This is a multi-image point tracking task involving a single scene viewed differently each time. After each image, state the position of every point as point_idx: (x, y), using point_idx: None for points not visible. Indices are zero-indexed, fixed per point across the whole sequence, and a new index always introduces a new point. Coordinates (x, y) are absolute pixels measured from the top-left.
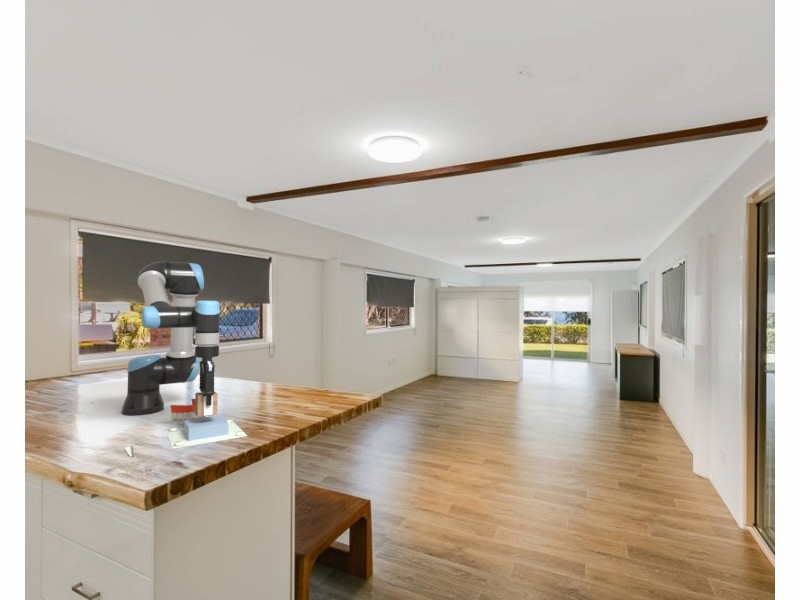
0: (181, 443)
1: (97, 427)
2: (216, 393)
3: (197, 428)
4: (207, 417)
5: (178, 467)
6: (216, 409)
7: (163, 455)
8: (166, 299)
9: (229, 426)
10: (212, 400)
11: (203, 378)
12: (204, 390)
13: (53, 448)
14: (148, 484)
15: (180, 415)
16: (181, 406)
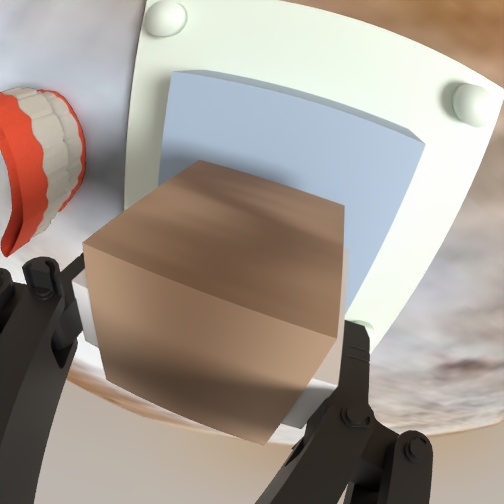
0: (374, 339)
1: None
2: (278, 323)
3: (351, 299)
4: (173, 163)
5: (485, 373)
6: (341, 229)
7: (370, 363)
8: None
9: (250, 37)
10: (340, 335)
11: (30, 476)
12: (276, 475)
13: (128, 400)
14: (488, 418)
15: (48, 217)
16: (19, 234)
